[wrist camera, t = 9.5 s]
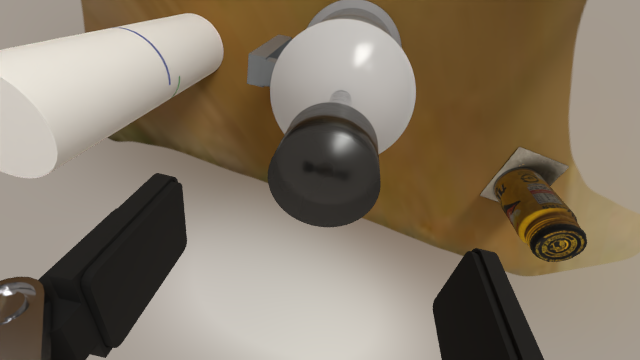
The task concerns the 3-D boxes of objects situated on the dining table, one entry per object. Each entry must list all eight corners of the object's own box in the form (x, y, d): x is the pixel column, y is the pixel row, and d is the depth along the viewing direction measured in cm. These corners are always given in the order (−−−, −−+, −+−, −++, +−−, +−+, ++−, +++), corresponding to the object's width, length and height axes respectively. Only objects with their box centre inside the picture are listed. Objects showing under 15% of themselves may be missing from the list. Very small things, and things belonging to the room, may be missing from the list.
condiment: (479, 194, 45) (511, 256, 35) (518, 146, 40) (568, 201, 30) (523, 211, 46) (567, 276, 36) (567, 165, 41) (632, 225, 31)
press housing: (415, 11, 34) (448, 34, 20) (383, 111, 40) (392, 180, 26) (292, -17, 34) (241, -13, 20) (280, 87, 40) (235, 144, 26)
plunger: (383, 74, 22) (396, 147, 12) (364, 137, 25) (363, 237, 15) (314, 58, 22) (273, 119, 12) (302, 123, 25) (263, 213, 15)
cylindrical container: (220, 15, 36) (22, 67, 15) (226, 77, 40) (75, 184, 19) (161, 10, 37) (-106, 53, 16) (173, 72, 41) (-29, 171, 20)
